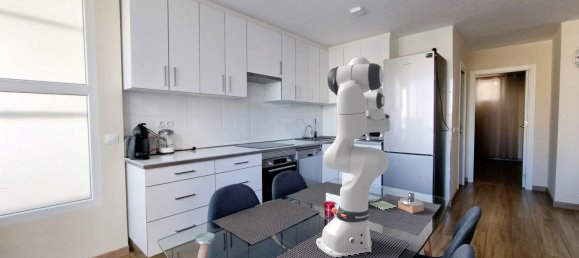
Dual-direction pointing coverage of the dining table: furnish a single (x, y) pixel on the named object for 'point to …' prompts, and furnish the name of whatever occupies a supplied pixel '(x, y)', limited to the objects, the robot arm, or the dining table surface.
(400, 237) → the dining table surface
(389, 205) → the mat
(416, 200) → the lid
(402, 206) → the orange open box
